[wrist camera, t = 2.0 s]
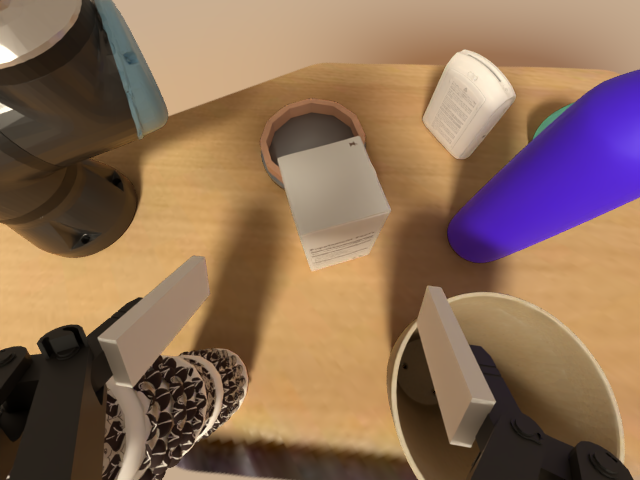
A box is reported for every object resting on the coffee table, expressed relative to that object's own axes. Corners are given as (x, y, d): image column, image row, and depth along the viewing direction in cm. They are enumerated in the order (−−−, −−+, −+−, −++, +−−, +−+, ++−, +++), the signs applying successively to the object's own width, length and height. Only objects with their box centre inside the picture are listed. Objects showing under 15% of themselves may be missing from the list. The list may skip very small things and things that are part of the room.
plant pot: (372, 447, 31) (411, 558, 16) (358, 313, 35) (378, 298, 20) (503, 440, 30) (674, 545, 15) (471, 305, 35) (576, 285, 20)
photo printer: (478, 152, 43) (533, 85, 31) (457, 164, 42) (505, 100, 31) (437, 110, 46) (473, 34, 34) (417, 120, 45) (446, 47, 34)
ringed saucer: (249, 185, 42) (243, 176, 40) (278, 103, 48) (275, 90, 45) (355, 205, 41) (356, 196, 38) (373, 117, 46) (375, 104, 43)
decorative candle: (267, 376, 33) (113, 481, 10) (215, 446, 31) (-147, 800, 8) (215, 329, 35) (-14, 323, 12) (163, 391, 33) (-246, 535, 10)
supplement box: (294, 216, 40) (274, 154, 26) (350, 200, 41) (361, 131, 27) (310, 273, 37) (297, 237, 23) (370, 255, 38) (394, 210, 24)
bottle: (446, 263, 37) (814, 40, 9) (442, 209, 40) (715, -95, 12) (508, 267, 37) (1112, 45, 8) (500, 212, 39) (936, -98, 11)
